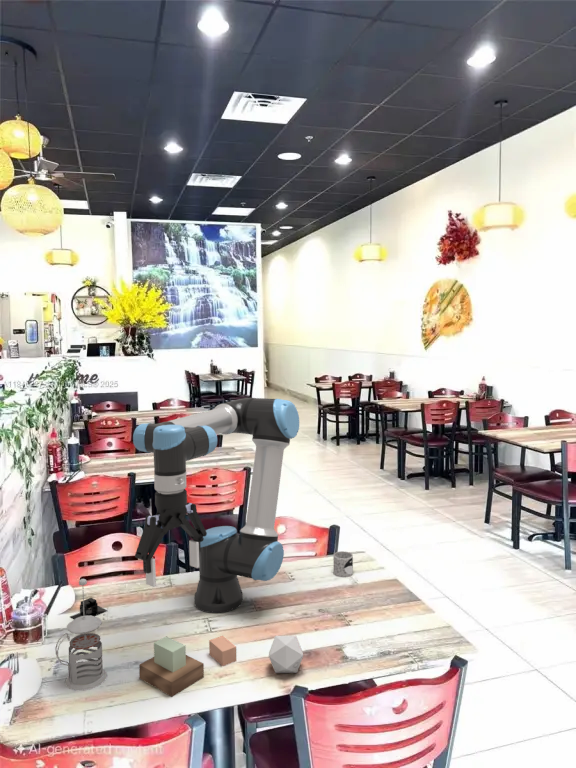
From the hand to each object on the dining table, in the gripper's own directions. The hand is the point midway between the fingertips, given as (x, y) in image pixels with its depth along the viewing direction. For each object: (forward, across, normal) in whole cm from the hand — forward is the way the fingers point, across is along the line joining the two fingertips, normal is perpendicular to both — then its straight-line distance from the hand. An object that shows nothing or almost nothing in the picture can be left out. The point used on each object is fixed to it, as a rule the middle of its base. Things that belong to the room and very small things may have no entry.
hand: (173, 575), depth 145 cm
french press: (+25, -16, +16) cm, 34 cm away
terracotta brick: (+25, +12, -4) cm, 28 cm away
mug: (+26, +78, +2) cm, 82 cm away
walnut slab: (+25, -2, -1) cm, 26 cm away
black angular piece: (+26, +4, +45) cm, 52 cm away
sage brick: (+21, -2, 0) cm, 22 cm away
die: (+25, +18, -20) cm, 37 cm away
